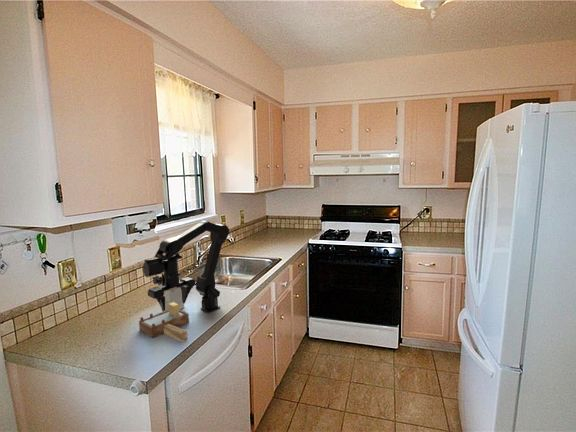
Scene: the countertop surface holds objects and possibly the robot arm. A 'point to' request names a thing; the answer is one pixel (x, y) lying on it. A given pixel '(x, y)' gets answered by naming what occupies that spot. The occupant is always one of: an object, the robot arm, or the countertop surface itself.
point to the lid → (165, 315)
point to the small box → (173, 297)
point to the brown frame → (162, 324)
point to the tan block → (175, 332)
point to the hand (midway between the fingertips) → (173, 306)
